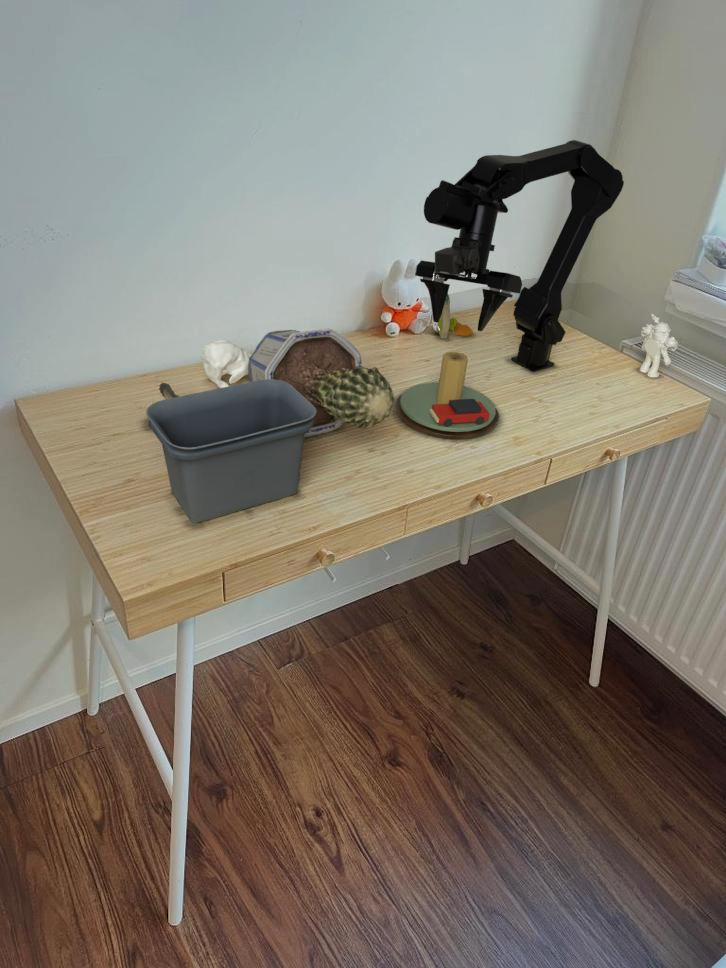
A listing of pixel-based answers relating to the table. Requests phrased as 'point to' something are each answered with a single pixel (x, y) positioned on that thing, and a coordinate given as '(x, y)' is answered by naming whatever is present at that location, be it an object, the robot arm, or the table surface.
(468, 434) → the display stand
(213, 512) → the storage bin
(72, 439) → the table surface
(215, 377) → the white crumpled lump
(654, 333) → the white character figurine
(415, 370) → the table surface
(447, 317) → the rattle
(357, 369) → the potted plant
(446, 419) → the turntable
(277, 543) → the table surface
